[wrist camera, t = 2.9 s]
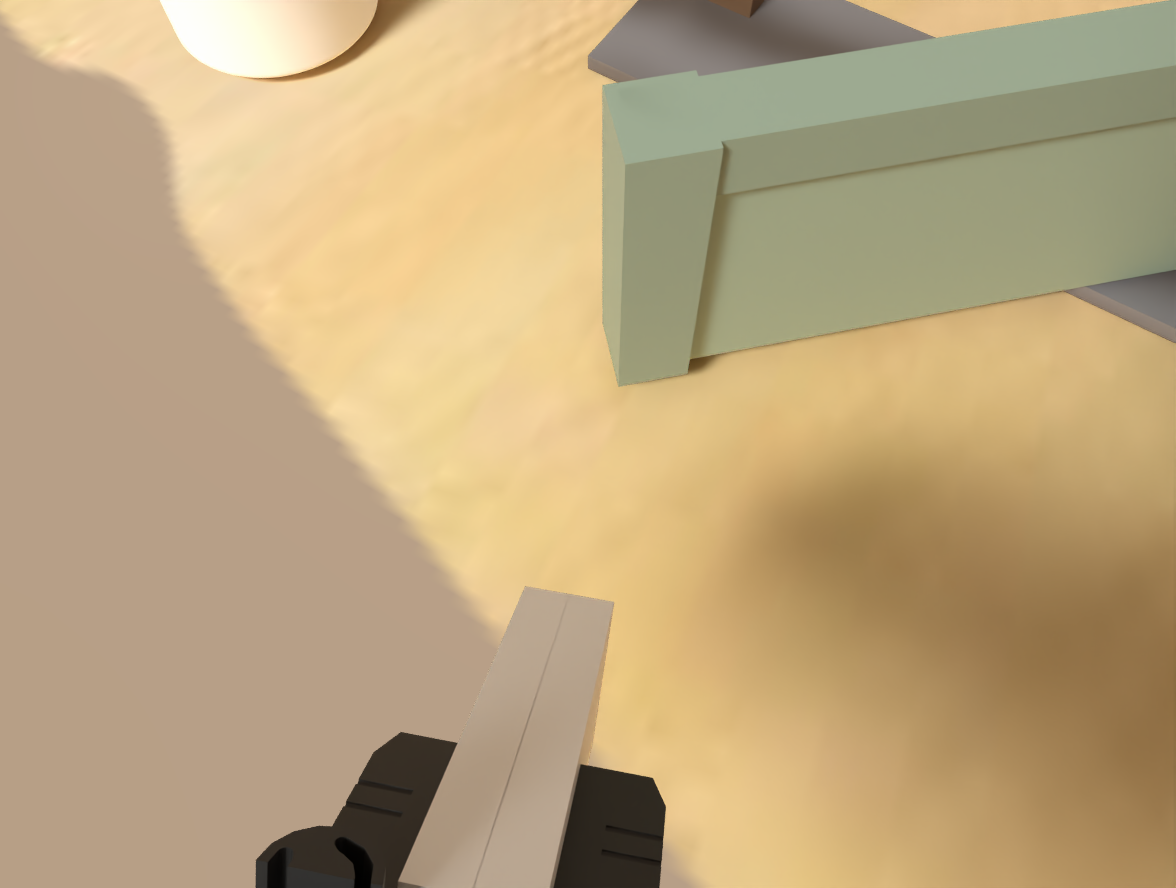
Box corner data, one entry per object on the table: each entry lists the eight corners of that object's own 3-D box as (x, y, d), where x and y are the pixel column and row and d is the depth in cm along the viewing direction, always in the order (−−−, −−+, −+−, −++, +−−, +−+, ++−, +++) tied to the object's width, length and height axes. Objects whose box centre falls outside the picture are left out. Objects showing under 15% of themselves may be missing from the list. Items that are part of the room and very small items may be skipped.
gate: (1260, 267, 31) (1522, 14, 22) (618, 386, 29) (625, 164, 20) (1224, 210, 32) (1461, -53, 23) (602, 322, 30) (602, 85, 21)
